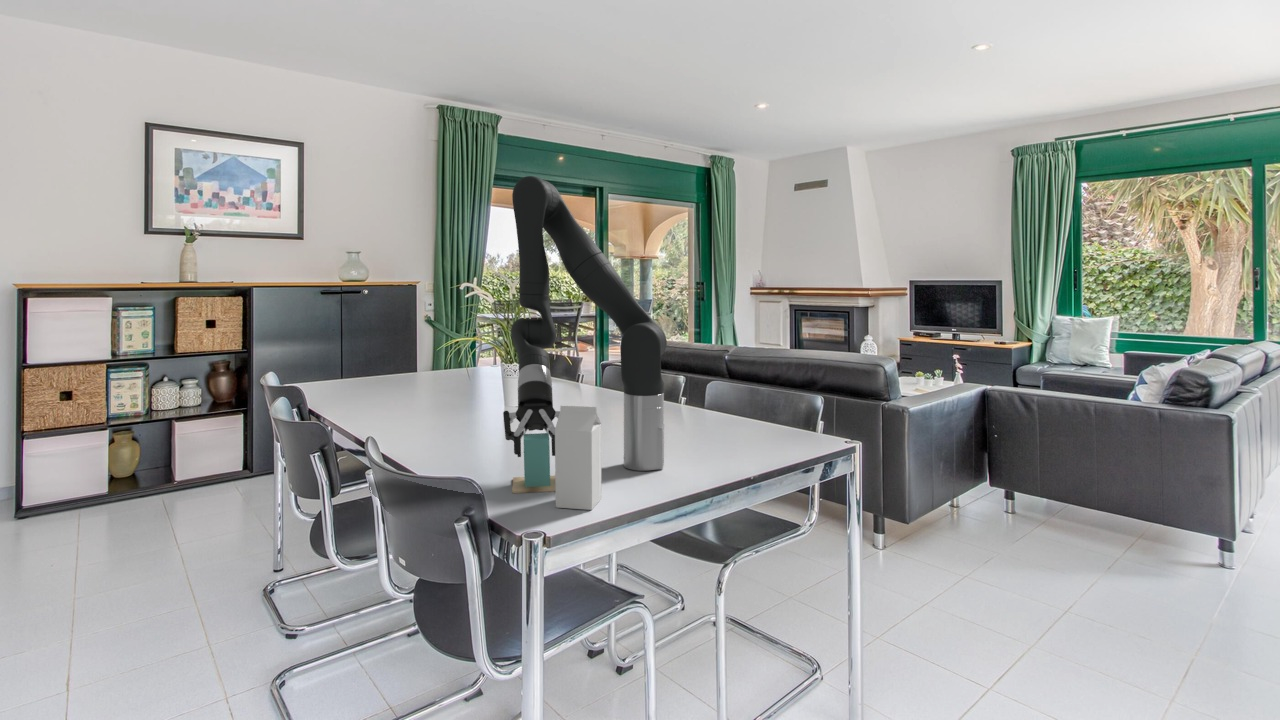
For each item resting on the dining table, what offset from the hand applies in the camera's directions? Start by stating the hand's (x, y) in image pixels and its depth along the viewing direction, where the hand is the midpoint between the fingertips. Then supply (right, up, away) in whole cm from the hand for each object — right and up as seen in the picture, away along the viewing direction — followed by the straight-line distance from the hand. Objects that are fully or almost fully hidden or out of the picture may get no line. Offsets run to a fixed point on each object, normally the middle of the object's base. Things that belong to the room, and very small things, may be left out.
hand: (536, 454), depth 138 cm
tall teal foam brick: (0, -6, +2) cm, 7 cm away
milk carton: (+10, -8, -9) cm, 16 cm away
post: (0, -7, +2) cm, 7 cm away
